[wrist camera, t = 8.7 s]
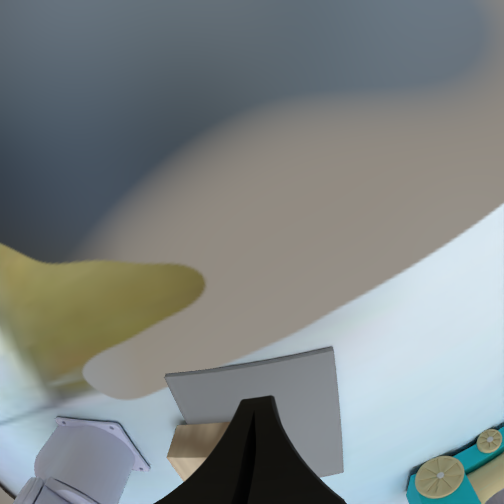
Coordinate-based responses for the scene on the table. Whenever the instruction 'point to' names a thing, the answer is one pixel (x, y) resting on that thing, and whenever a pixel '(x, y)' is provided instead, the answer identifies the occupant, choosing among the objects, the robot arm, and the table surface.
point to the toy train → (462, 474)
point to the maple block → (193, 446)
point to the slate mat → (286, 396)
